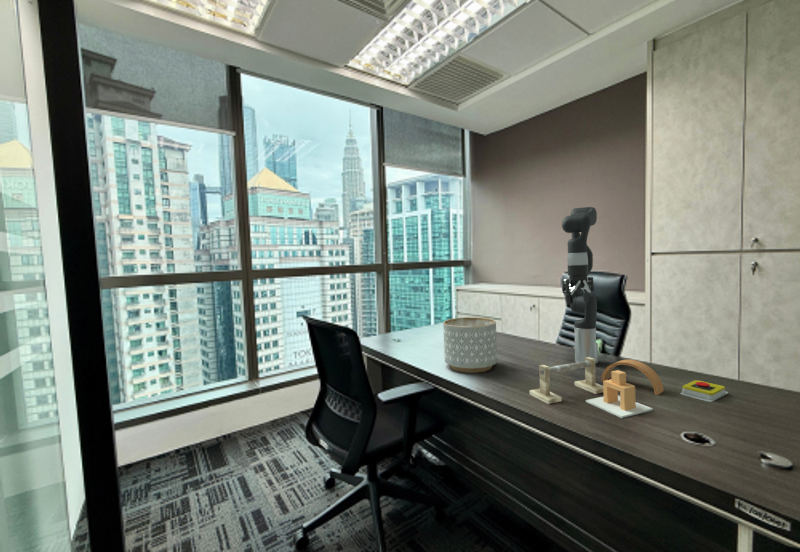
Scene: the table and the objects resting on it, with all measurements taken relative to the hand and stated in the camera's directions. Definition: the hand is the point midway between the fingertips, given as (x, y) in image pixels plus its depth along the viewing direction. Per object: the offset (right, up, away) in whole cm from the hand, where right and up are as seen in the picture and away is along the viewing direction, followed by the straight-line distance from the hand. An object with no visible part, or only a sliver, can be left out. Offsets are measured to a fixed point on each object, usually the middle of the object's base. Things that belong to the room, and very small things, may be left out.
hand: (578, 302), depth 145 cm
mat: (+1, -34, -24) cm, 41 cm away
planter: (-39, -34, +28) cm, 59 cm away
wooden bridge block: (+2, -33, -24) cm, 41 cm away
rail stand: (-9, -34, -10) cm, 37 cm away
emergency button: (+38, -33, -16) cm, 52 cm away
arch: (+17, -33, -6) cm, 38 cm away
